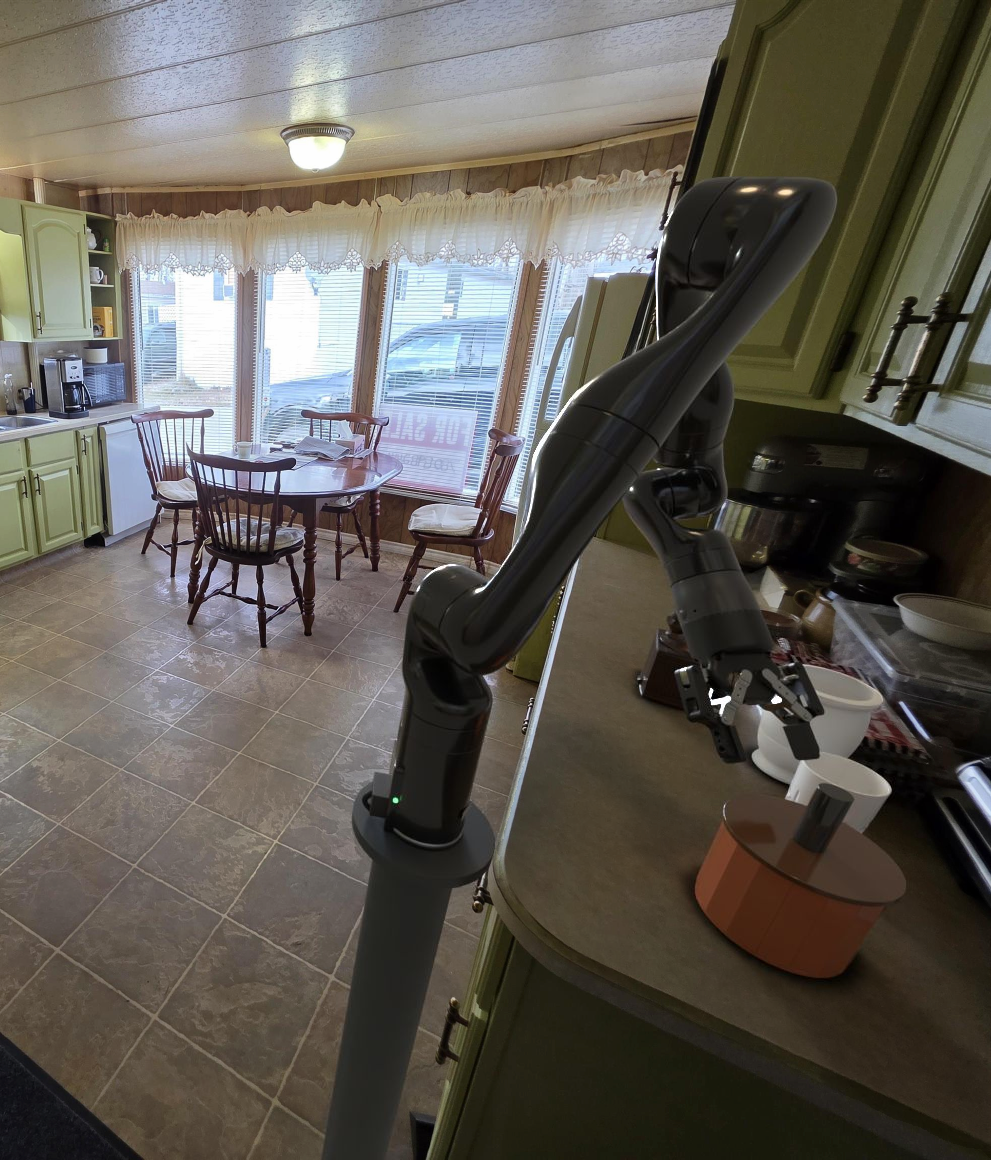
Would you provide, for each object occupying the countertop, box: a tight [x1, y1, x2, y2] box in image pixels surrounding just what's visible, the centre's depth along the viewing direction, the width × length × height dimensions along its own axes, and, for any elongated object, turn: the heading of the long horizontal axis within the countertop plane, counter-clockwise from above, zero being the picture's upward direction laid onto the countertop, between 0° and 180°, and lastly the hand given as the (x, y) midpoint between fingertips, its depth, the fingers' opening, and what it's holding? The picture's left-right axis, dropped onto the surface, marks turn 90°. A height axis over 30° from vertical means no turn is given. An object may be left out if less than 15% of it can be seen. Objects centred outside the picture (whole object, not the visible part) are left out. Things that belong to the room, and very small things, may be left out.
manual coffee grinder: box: [636, 611, 710, 711], centre depth 102 cm, size 16×11×18 cm
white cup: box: [784, 752, 893, 834], centre depth 75 cm, size 8×8×10 cm
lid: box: [721, 783, 907, 907], centre depth 61 cm, size 14×14×8 cm
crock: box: [694, 820, 889, 979], centre depth 64 cm, size 13×13×10 cm
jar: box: [751, 663, 884, 786], centre depth 86 cm, size 11×10×15 cm
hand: (772, 761), depth 65 cm, fingers open, 8 cm apart
